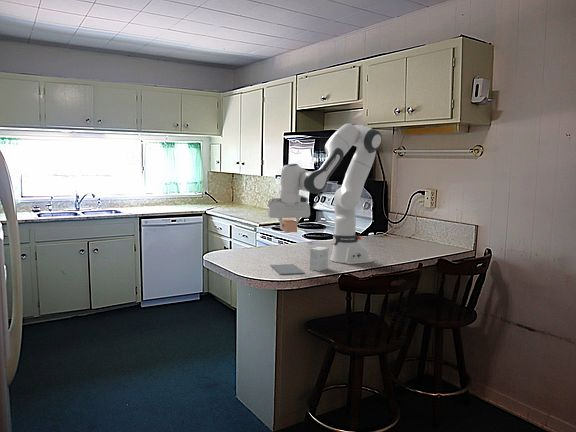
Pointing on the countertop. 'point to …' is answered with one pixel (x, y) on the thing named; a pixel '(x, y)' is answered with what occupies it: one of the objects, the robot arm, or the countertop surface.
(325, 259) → the small box
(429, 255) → the countertop surface
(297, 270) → the mat
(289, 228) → the terracotta block
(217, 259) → the countertop surface
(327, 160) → the robot arm
